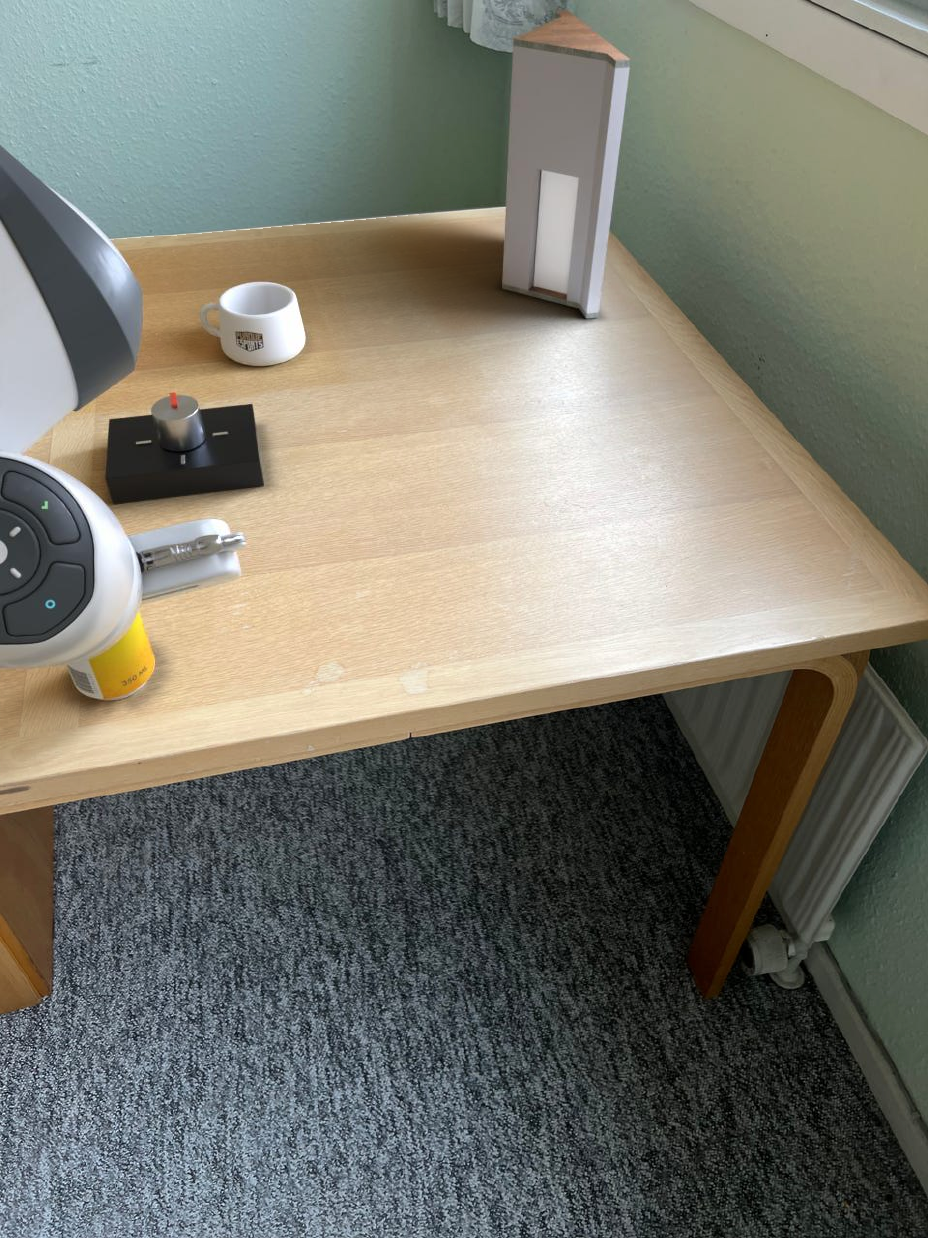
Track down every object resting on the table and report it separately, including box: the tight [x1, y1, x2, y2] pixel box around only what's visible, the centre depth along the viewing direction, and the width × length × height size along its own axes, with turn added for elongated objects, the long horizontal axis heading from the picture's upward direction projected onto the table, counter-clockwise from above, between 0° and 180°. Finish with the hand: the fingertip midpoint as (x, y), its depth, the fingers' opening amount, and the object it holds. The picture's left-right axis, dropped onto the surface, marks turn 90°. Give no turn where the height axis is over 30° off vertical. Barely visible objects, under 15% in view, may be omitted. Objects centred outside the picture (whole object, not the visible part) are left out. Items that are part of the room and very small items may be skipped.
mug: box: [199, 281, 306, 367], centre depth 105 cm, size 12×10×6 cm
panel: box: [104, 403, 265, 505], centre depth 90 cm, size 14×10×3 cm
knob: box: [150, 391, 206, 452], centre depth 87 cm, size 4×4×4 cm
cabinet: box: [501, 9, 631, 319], centre depth 110 cm, size 21×10×28 cm, turn 13°
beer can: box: [65, 610, 156, 701], centre depth 66 cm, size 6×6×15 cm
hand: (82, 596), depth 62 cm, fingers open, 8 cm apart
